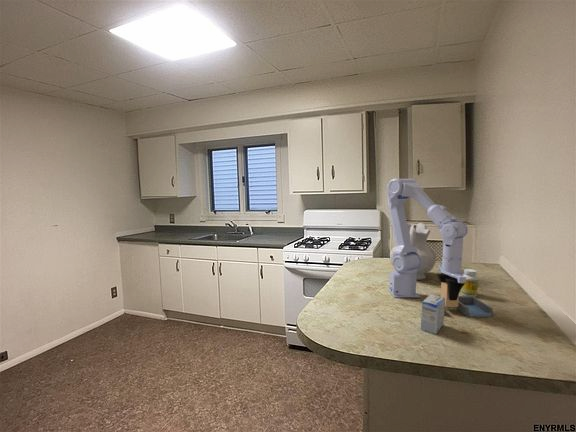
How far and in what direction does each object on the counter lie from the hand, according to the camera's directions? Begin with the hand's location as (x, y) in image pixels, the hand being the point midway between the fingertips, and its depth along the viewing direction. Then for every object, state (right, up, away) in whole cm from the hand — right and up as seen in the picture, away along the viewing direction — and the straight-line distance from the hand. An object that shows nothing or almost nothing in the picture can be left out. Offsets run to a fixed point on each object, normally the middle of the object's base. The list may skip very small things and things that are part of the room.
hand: (449, 297), depth 107 cm
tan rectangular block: (0, -2, 0) cm, 2 cm away
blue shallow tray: (+4, -4, 0) cm, 6 cm away
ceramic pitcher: (+2, -1, +38) cm, 38 cm away
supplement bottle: (+15, -3, +15) cm, 21 cm away
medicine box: (-11, -6, -12) cm, 18 cm away
